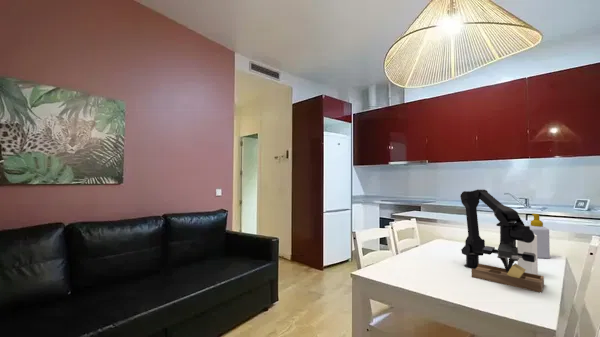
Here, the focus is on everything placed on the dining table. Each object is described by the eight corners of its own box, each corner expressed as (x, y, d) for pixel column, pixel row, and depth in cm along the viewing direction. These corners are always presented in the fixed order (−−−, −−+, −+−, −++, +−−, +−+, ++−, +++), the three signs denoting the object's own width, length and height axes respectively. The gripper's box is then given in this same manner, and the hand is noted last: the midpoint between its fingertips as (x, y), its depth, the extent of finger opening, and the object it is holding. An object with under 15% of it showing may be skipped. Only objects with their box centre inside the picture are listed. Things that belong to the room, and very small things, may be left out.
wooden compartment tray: (478, 271, 141) (478, 263, 141) (544, 284, 124) (543, 276, 124) (471, 277, 133) (471, 268, 133) (541, 292, 115) (541, 283, 115)
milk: (537, 274, 137) (537, 229, 137) (532, 276, 134) (531, 230, 134) (523, 271, 142) (522, 227, 142) (517, 272, 139) (516, 228, 139)
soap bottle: (541, 254, 171) (540, 213, 172) (550, 259, 163) (550, 215, 163) (524, 253, 173) (523, 213, 174) (532, 258, 165) (532, 214, 165)
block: (509, 272, 127) (515, 263, 126) (519, 278, 124) (526, 269, 123) (506, 274, 124) (512, 265, 123) (517, 280, 122) (523, 271, 120)
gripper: (479, 236, 127) (479, 271, 127) (532, 244, 114) (532, 283, 113) (485, 233, 135) (485, 266, 134) (535, 240, 122) (536, 276, 121)
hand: (508, 272), depth 126 cm, fingers closed, pressing on block
